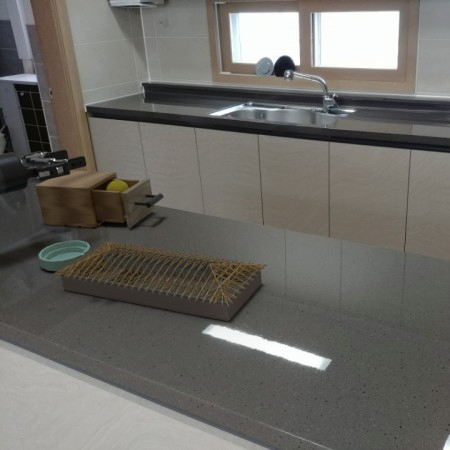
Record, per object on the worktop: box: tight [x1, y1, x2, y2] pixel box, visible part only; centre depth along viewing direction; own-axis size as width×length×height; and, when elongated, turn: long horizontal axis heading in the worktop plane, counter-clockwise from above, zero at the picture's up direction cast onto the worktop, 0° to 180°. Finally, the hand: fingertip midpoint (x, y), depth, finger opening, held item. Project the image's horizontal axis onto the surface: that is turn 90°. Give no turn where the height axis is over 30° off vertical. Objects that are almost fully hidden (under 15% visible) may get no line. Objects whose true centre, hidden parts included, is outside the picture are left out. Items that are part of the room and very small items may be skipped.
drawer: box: [90, 177, 164, 227], centre depth 124 cm, size 17×10×8 cm, turn 76°
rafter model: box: [52, 241, 268, 322], centre depth 95 cm, size 35×14×6 cm, turn 69°
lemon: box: [106, 178, 129, 211], centre depth 124 cm, size 6×6×8 cm
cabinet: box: [34, 170, 118, 229], centre depth 127 cm, size 14×12×10 cm
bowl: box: [38, 239, 92, 272], centre depth 106 cm, size 9×9×2 cm
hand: (75, 157), depth 114 cm, fingers open, 8 cm apart
